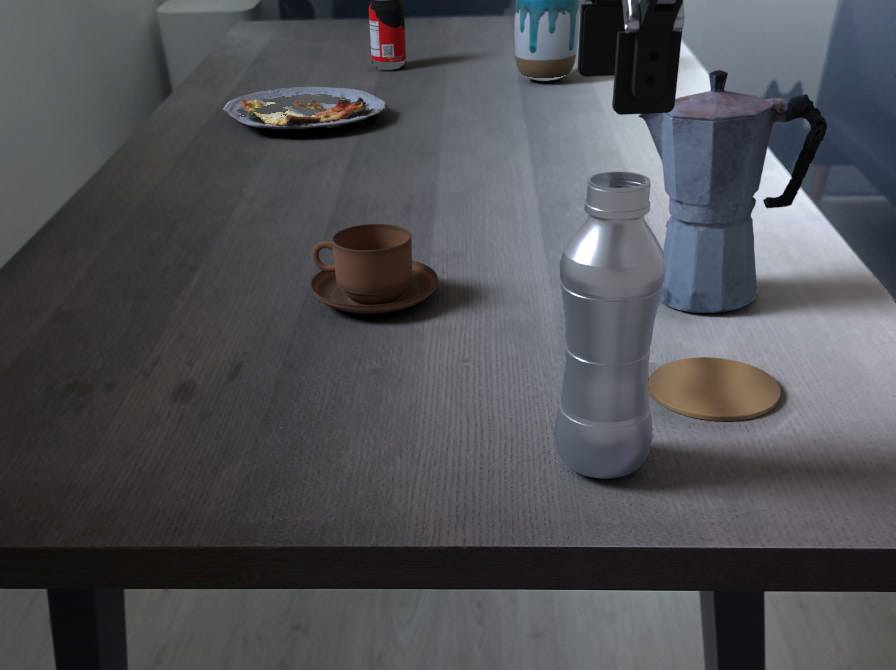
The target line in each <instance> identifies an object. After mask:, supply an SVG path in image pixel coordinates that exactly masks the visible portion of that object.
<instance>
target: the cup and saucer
mask: <svg viewBox="0 0 896 670" xmlns="http://www.w3.org/2000/svg"><path fill="white" fill-rule="evenodd" d="M323 249H327V250H331V251H332V253H333V261H334V263H333V264H332V265H330V264H329V265H327V264H325V263H323V262H322V261H321V260H322V259H321V258H320V252H321V251H322V250H323ZM311 253H312V254H311V257H312V260H313V263H314V265H315V266H316V267H317V268H318V269H319V270H320V271H319V272H317V273H316V274H315V275H314V277H312V279H311V282H310V288H311V291H312V293H313V296H315V298H316V299H318V300H319V301H320V302H322V303H323V304H325V305H326V306H328V307H330V308H332V309H336V310H338V311H342V312H347V313H351V314H353V313H354V314H366V315H367V314H368V315H369V314H374V315H375V314H385V313H391V312H397V311H402V310H405V309H408V308H410V307H413V306H415V305H417V304H419V303H421V302H424V301H425V300H426V299H427V298H428V297H429V296H431V294H433V292H434V291H435V290H436V288H437V287H438V281H439V277H438V274H437V272H436V271H435V269H433V268H432V267H430V266H429V265H427V264H424V263H422V262H419V261H416V260H413V243H412V233H411V232H410V231H409V229H407V228H406V227H403V226H400V225H396V224H390V223H365V224H364V223H363V224H357V225H353V226H349V227H346V228H343V229H341V230H339V231H337V232H335V233H334V235H333V236H332V238H331V241H330V240H329V241H328V240H326V241H325V240H324V241H323V240H322V241H319V242H318V243H316V244H315V245H314V247H313V248H312V252H311Z"/></svg>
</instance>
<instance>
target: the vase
mask: <svg viewBox="0 0 896 670" xmlns="http://www.w3.org/2000/svg"><path fill="white" fill-rule="evenodd" d="M514 7H515V8H514V31H513V32H514V55H515V56H514V57H515V63H516V67H517V69H518V71H519V73H520V74H521V75H522V76H523V75H524V76H527V77H533V78H554V77H561V76H564V75H567V74H568V75H569V74H570V73H571V72H572V70H573V68H574V66H575V63H576V59H577V55H578V46H579V30H580V0H515V6H514ZM568 75H567V76H568ZM524 76H523V77H524ZM553 81H555V80H553ZM553 81H552V82H553ZM541 82H543V83H544V82H545V83H546V82H548V81H541Z"/></svg>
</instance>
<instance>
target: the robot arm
mask: <svg viewBox="0 0 896 670" xmlns="http://www.w3.org/2000/svg"><path fill="white" fill-rule="evenodd" d="M582 2H583V3H580V10H579V34H578V48H577V67H576V68H577V72H578V74H579V75H580V76H581V77H584V78H589V77H591V78H593V77H613V90H612V102H611V103H612V104H611V106H612V110H613V111H614V112H615V114H617V115H620V116H625V115H628V116H629V115H639V114H653V113H669V112H671V111H672V110H673V108H674V106H675V99H677V97H676V95H677V87H678V78H679V67H680V59H681V58H680V57H681V48H682V38H683V29H684V25H685V4H684V0H582Z"/></svg>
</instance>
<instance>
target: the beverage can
mask: <svg viewBox="0 0 896 670" xmlns="http://www.w3.org/2000/svg"><path fill="white" fill-rule="evenodd" d="M368 19H369V21H368V22H369V36H370V38H369V39H370V41H369V42H370V57H371V61H372V60H375V61H380V62H400V61H404V60H405V59H406V60H407V50H406V49H407V48H406V47H407V46H406V23H405V21H406V20H405V19H406V18H405V6H404V3H403V2H402V1H401V0H371V2H370V4H369V6H368Z"/></svg>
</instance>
